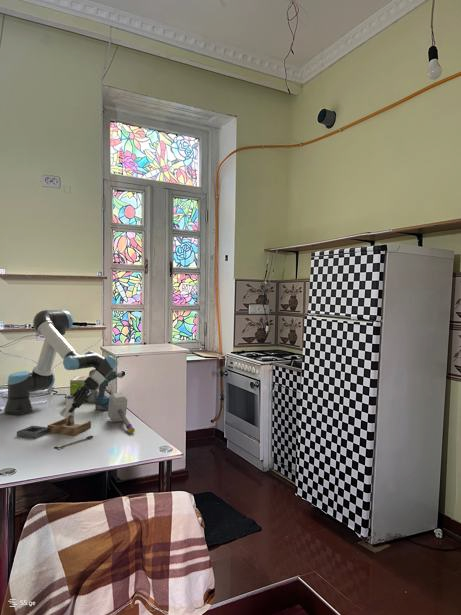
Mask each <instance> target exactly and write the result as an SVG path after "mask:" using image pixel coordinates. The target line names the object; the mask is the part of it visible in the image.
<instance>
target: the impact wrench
mask: <svg viewBox="0 0 461 615" xmlns="http://www.w3.org/2000/svg"><path fill="white" fill-rule="evenodd" d="M94 370H95V368H94V369H91V370H90V371H89V374H88V376H89V377H90V374H91V373H92V372H93V371H94ZM123 377H124V372H123V371H119V372H117V371H116V370H115V369H114V370H113V371H112V372H111V373H110V374H109V375H108V376H107V377H106V378H105V380H104V382H102V383H101V384H99V385H100V386H99V395H98V396H97V397H96V402H95V409H96V410H98V411H108V408H109V397H110V396H108V395H105V392H106V389H107V387H108V386H109V383H110V382H111V381H113V380H115V379H117V378H118V379H122V378H123Z"/></svg>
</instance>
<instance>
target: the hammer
mask: <svg viewBox="0 0 461 615" xmlns="http://www.w3.org/2000/svg"><path fill="white" fill-rule="evenodd" d="M108 397H109V408H108V410H107V416H108V418H109V419H110V422H111V423H120V422H121V421H122V422H123V423H124V425H125V428H126V430H127V432H128V433H129V434H130V433H131V434H134V433H135V428H134V426H133V425H132V423H130V421H129V419H128V418H127V416H126V415H127V408H128V399H127V396H125V394H124V393H123V392H114V393H111V394H109V396H108Z"/></svg>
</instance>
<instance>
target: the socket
mask: <svg viewBox="0 0 461 615" xmlns="http://www.w3.org/2000/svg"><path fill="white" fill-rule="evenodd" d="M48 434H50V428H47V426H38V425H30V426H28V427H25V428H23V429H20V430H18V431H16V437H17V438H26V439H35V440H36V439H39V438H41V437H42V436H45V435H48Z"/></svg>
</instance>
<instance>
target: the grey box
mask: <svg viewBox="0 0 461 615" xmlns="http://www.w3.org/2000/svg"><path fill="white" fill-rule="evenodd" d="M99 386H100V384H99ZM99 386H98V388H97V389H96V390H92V391H91V393H92V395H90V396H89V397H88V398H87V400H86V402H88V403H97V402H96V397H97V396H98V395H99Z"/></svg>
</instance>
